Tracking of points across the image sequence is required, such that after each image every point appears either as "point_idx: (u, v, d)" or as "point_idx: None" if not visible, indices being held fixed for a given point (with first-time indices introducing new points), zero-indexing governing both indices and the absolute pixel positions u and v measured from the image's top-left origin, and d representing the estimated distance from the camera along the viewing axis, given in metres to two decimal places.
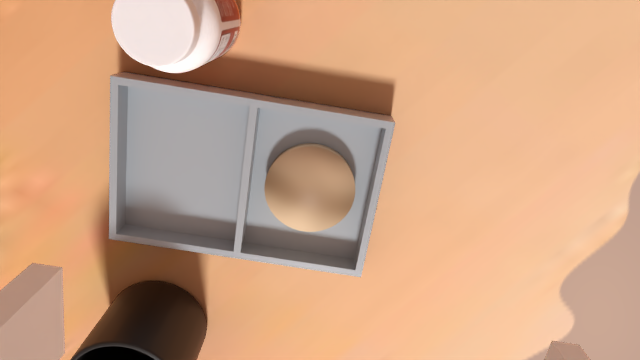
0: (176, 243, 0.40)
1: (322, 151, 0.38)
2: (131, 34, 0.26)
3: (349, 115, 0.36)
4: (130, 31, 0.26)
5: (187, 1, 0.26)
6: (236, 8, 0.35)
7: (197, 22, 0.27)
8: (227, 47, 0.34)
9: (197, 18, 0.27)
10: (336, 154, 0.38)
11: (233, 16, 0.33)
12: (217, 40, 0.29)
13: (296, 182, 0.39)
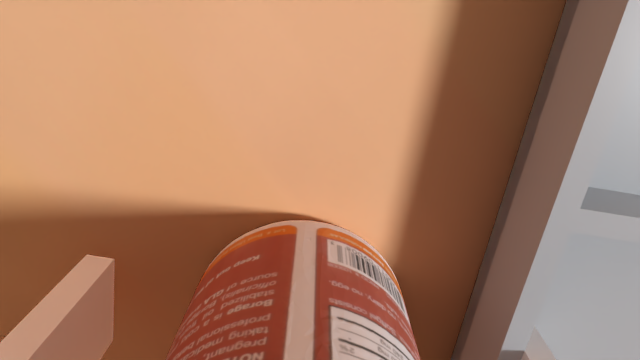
0: None
1: None
2: None
3: None
4: None
5: None
6: (266, 239, 0.12)
7: None
8: (376, 293, 0.11)
9: None
10: None
11: (280, 273, 0.10)
12: None
13: None
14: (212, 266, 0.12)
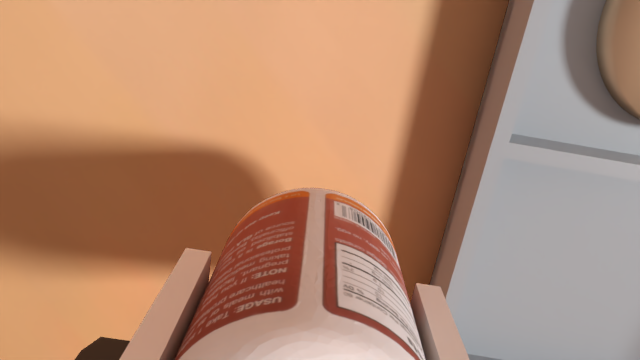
0: None
1: None
2: None
3: None
4: None
5: None
6: (284, 200, 0.15)
7: None
8: (372, 240, 0.13)
9: None
10: None
11: (297, 222, 0.13)
12: (351, 341, 0.09)
13: None
14: (240, 223, 0.15)
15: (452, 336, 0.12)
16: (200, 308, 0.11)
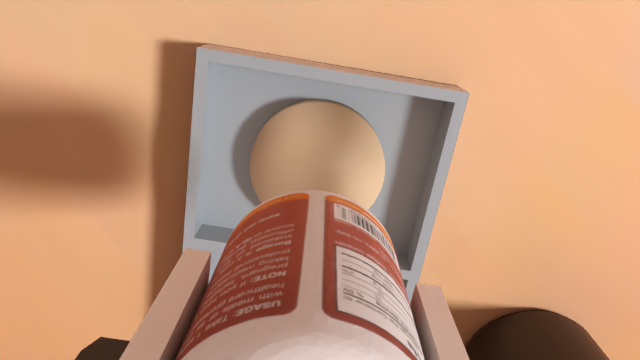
0: None
1: (255, 151, 0.26)
2: None
3: (193, 116, 0.25)
4: None
5: None
6: (284, 202, 0.15)
7: None
8: (372, 242, 0.13)
9: None
10: (261, 130, 0.26)
11: (297, 224, 0.13)
12: (351, 345, 0.09)
13: (304, 188, 0.27)
14: (239, 225, 0.15)
15: (452, 336, 0.12)
16: (199, 311, 0.11)
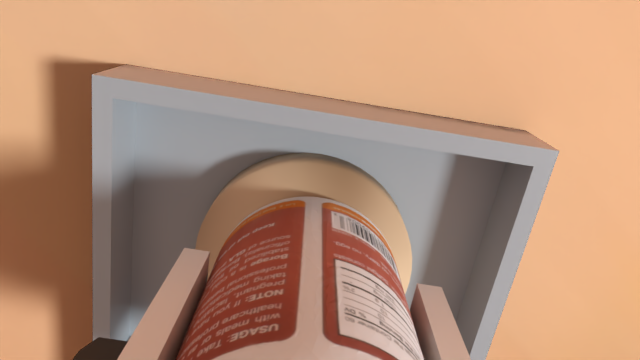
0: None
1: (204, 238, 0.16)
2: None
3: (94, 188, 0.15)
4: None
5: None
6: (279, 211, 0.14)
7: None
8: (372, 253, 0.13)
9: None
10: (212, 204, 0.16)
11: (293, 235, 0.12)
12: None
13: None
14: (232, 235, 0.15)
15: (454, 337, 0.12)
16: (191, 332, 0.11)
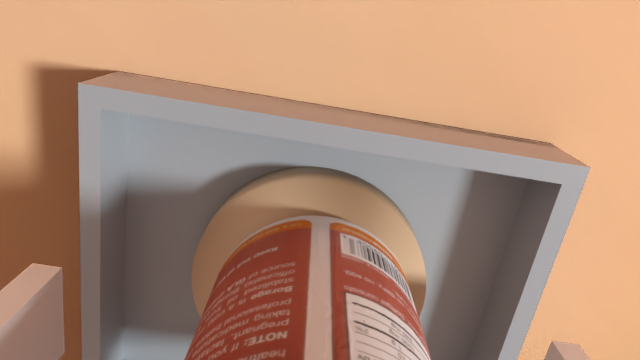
0: None
1: (201, 258, 0.15)
2: None
3: (82, 206, 0.14)
4: None
5: None
6: (283, 232, 0.13)
7: None
8: (386, 283, 0.12)
9: None
10: (210, 222, 0.15)
11: (298, 263, 0.11)
12: None
13: None
14: (232, 257, 0.13)
15: None
16: None
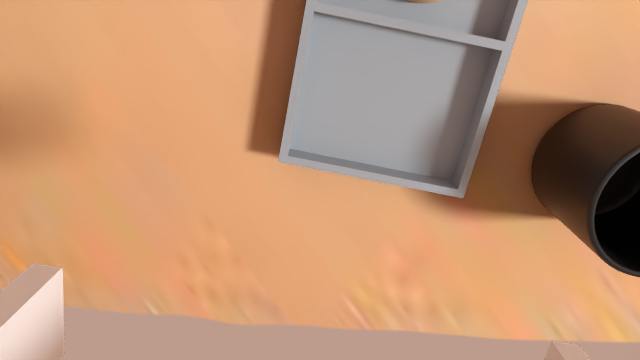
0: (480, 122, 0.33)
1: None
2: None
3: None
4: None
5: None
6: None
7: None
8: None
9: None
10: None
11: None
12: None
13: None
14: None
15: None
16: None
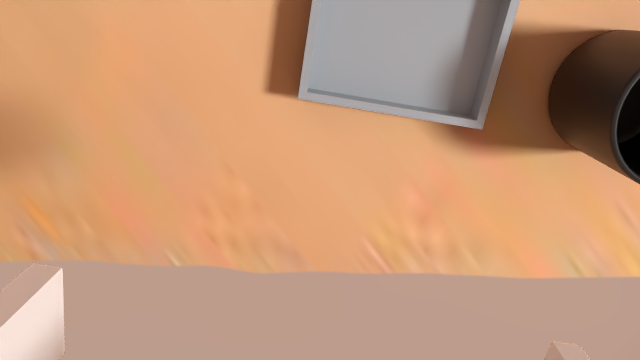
0: (498, 49, 0.33)
1: None
2: None
3: None
4: None
5: None
6: None
7: None
8: None
9: None
10: None
11: None
12: None
13: None
14: None
15: None
16: None
